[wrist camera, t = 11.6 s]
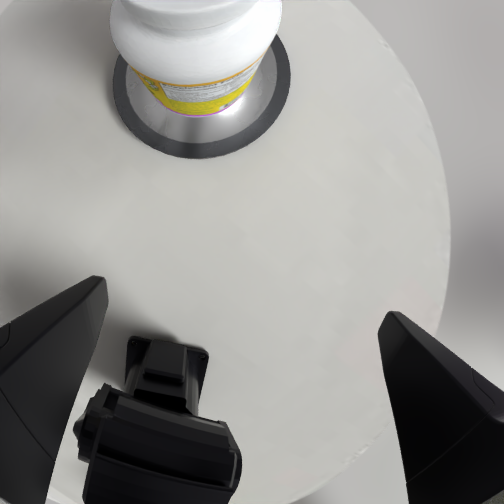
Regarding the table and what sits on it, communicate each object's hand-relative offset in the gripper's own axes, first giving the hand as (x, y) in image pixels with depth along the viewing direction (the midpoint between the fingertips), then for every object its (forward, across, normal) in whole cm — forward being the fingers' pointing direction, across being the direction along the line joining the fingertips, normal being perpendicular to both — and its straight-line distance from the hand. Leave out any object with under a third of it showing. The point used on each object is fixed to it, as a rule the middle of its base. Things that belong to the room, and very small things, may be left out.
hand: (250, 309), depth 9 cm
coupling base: (+15, +4, -7) cm, 17 cm away
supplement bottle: (+14, +4, -7) cm, 16 cm away
